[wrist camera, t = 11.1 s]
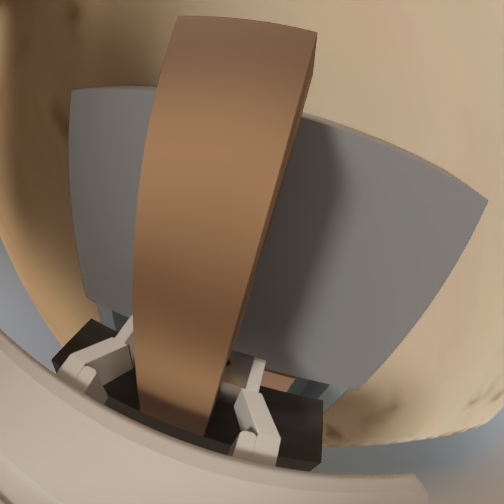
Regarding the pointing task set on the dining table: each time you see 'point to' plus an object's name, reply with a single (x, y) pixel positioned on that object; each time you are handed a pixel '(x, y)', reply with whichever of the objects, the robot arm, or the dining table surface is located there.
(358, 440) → the dining table surface
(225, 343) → the wooden t-shaped pusher
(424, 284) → the grey slab
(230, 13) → the dining table surface
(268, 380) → the tile
